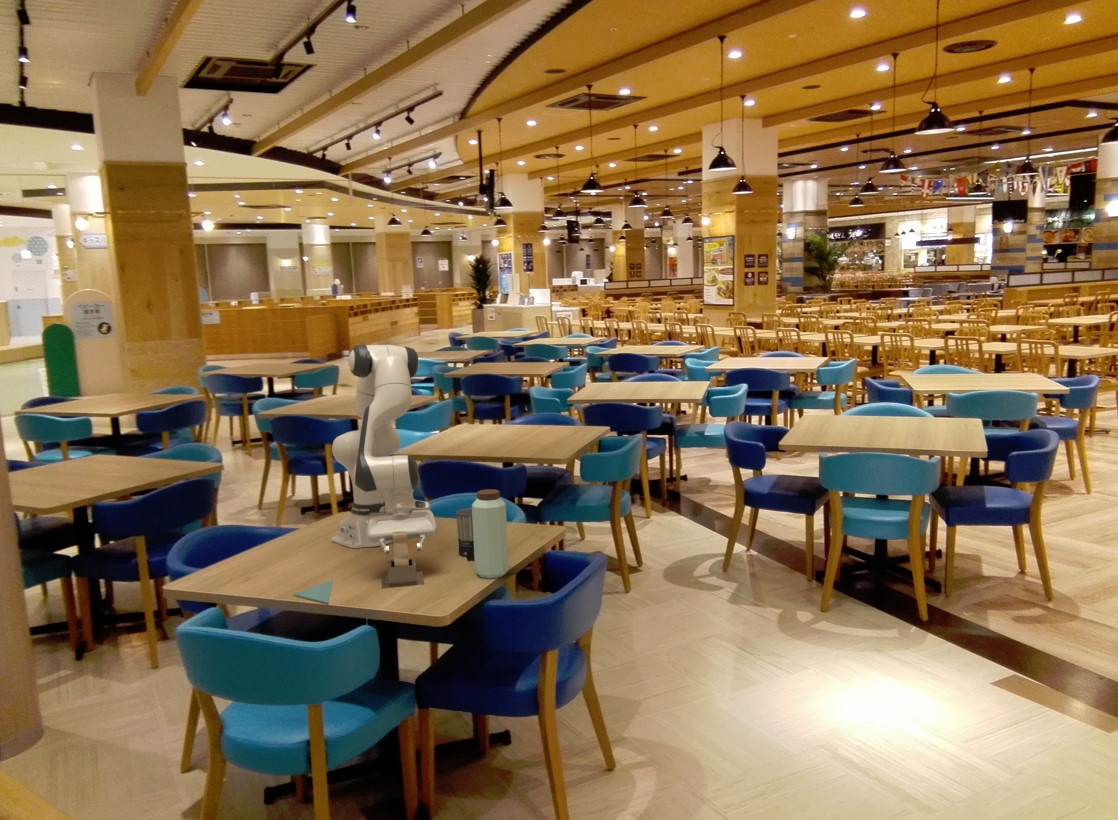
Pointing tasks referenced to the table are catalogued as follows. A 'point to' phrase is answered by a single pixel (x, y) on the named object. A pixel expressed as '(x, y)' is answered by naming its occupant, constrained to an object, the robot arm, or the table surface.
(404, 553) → the maple bar
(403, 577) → the tan hollow square block
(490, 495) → the water bottle
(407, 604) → the table surface
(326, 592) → the teal mat
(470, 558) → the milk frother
